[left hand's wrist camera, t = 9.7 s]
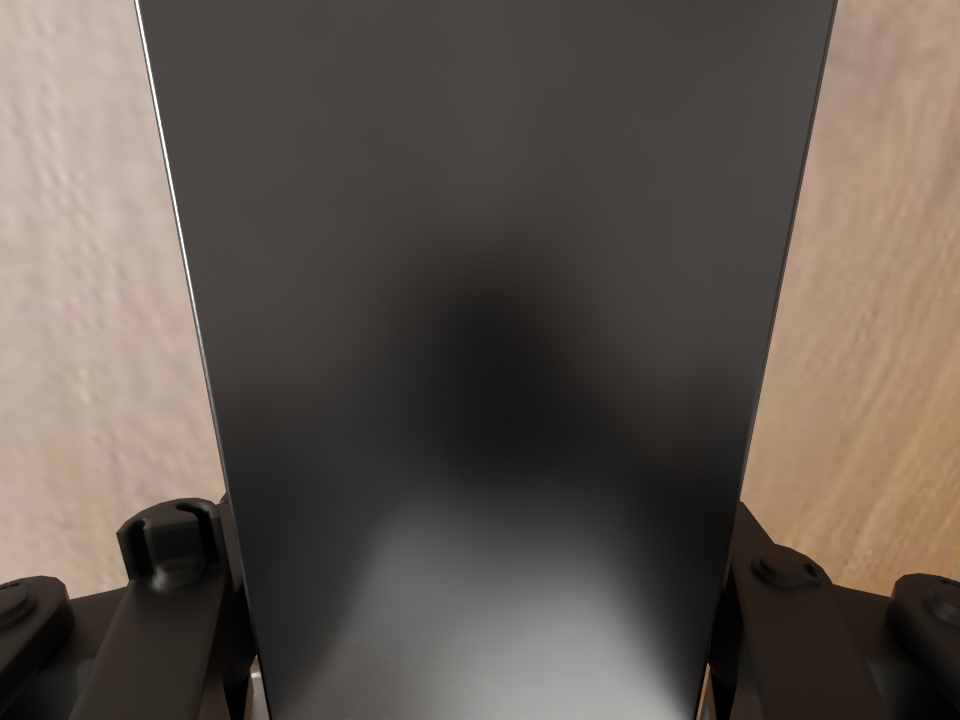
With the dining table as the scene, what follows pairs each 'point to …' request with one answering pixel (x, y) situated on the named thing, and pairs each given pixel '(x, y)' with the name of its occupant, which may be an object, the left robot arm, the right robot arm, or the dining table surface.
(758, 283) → the bar
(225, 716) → the left robot arm
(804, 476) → the dining table surface
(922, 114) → the dining table surface
